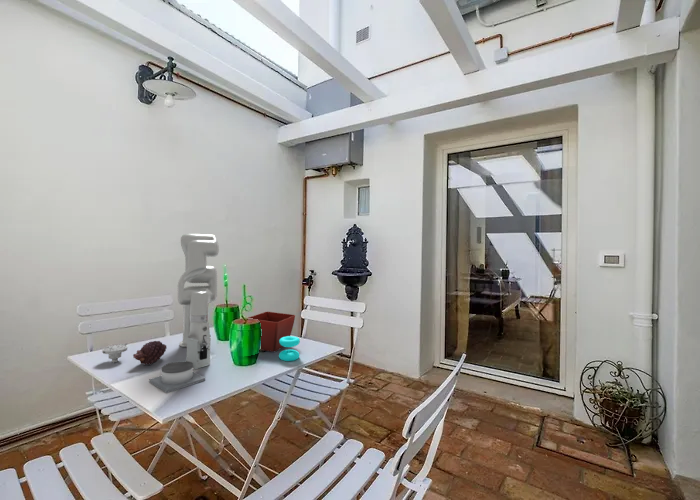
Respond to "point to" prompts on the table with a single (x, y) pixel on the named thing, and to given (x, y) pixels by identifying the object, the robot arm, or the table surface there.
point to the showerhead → (115, 351)
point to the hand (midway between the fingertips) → (198, 356)
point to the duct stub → (176, 376)
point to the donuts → (289, 354)
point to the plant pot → (274, 329)
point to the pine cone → (150, 352)
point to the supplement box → (196, 353)
